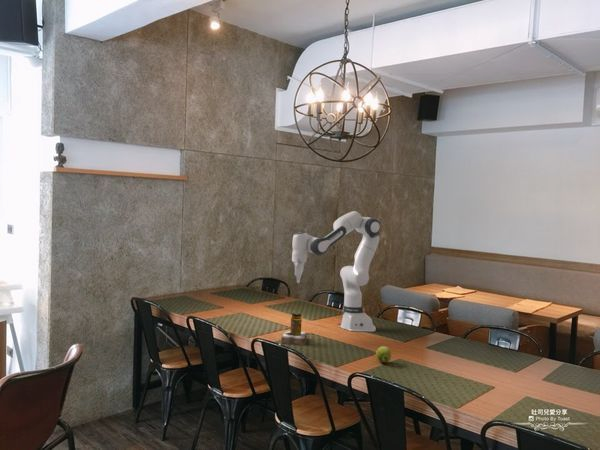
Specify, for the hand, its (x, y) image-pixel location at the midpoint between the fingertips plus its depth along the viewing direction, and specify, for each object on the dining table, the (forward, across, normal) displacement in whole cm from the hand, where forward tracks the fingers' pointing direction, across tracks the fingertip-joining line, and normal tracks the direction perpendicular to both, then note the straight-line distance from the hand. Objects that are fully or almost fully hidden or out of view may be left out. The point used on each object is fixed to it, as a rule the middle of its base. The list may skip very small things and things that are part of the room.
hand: (298, 281), depth 301 cm
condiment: (+27, -20, 0) cm, 33 cm away
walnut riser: (+31, -19, 0) cm, 36 cm away
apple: (+32, -46, -47) cm, 73 cm away
